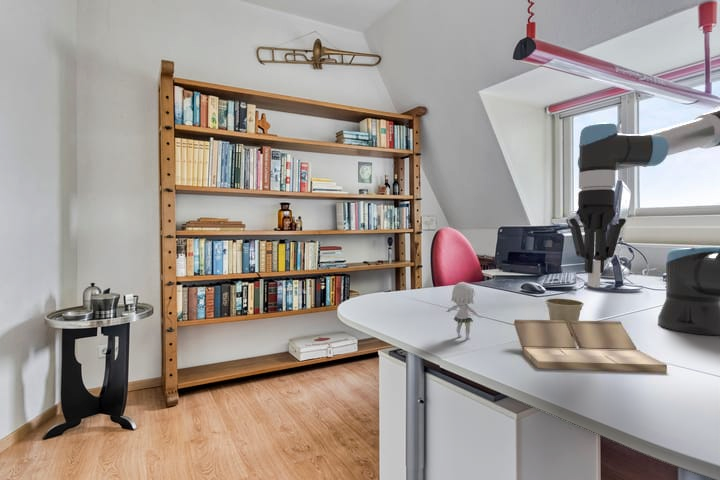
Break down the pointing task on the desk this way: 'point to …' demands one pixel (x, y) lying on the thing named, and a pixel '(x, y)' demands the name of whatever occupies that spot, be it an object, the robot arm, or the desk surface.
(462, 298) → the figurine
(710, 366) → the desk surface
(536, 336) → the plank
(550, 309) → the flower pot
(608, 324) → the plank
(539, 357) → the floor strip
